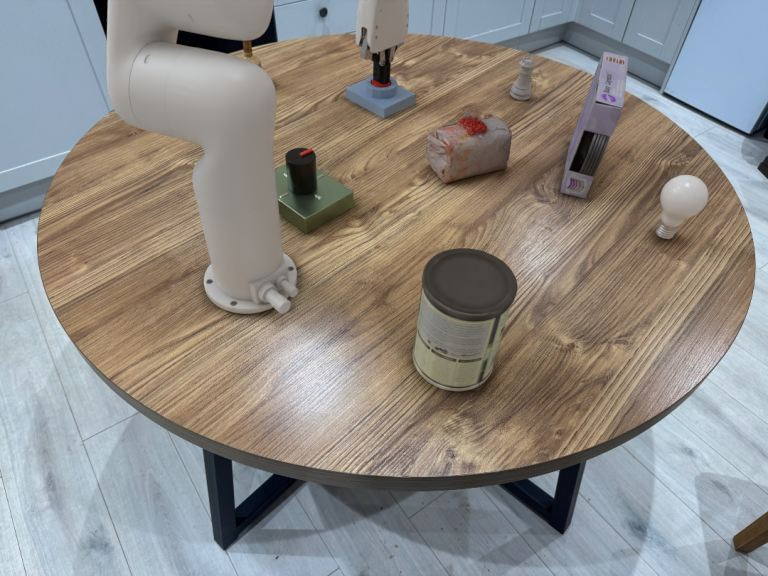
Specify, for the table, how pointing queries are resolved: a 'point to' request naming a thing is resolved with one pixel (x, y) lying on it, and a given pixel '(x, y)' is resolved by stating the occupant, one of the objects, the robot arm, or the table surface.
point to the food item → (469, 148)
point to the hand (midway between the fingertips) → (381, 81)
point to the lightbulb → (680, 203)
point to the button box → (380, 97)
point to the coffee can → (462, 317)
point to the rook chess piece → (523, 80)
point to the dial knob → (301, 170)
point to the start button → (379, 84)
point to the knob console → (312, 201)
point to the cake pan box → (595, 124)
